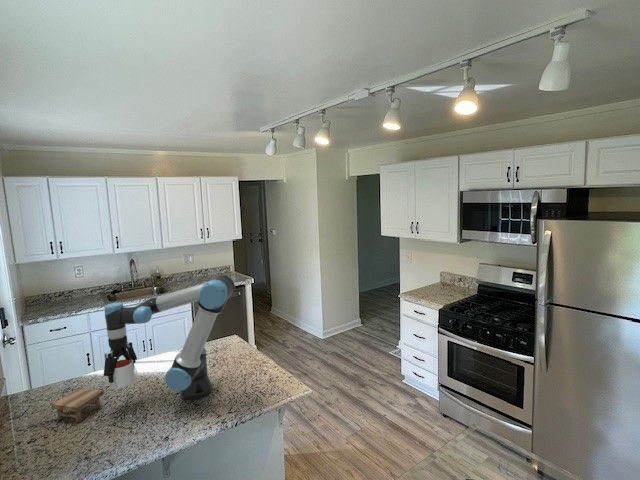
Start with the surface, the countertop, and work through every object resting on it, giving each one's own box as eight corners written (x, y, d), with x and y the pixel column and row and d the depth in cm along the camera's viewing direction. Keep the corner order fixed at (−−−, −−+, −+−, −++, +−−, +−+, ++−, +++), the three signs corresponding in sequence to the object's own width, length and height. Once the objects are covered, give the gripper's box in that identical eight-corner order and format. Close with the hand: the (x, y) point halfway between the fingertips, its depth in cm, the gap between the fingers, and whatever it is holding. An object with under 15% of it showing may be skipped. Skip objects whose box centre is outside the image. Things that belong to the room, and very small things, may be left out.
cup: (124, 390, 158) (121, 369, 157) (105, 389, 160) (102, 368, 159) (140, 379, 168) (137, 359, 166) (122, 378, 170) (119, 358, 168)
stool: (105, 406, 166) (103, 390, 166) (78, 424, 153) (76, 407, 152) (81, 403, 170) (79, 387, 169) (53, 421, 156) (51, 404, 155)
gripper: (129, 327, 173) (134, 370, 175) (89, 346, 151) (95, 394, 154) (142, 327, 171) (147, 371, 174) (103, 347, 149) (110, 396, 152)
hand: (123, 382), depth 164 cm, fingers closed on cup, 10 cm apart
